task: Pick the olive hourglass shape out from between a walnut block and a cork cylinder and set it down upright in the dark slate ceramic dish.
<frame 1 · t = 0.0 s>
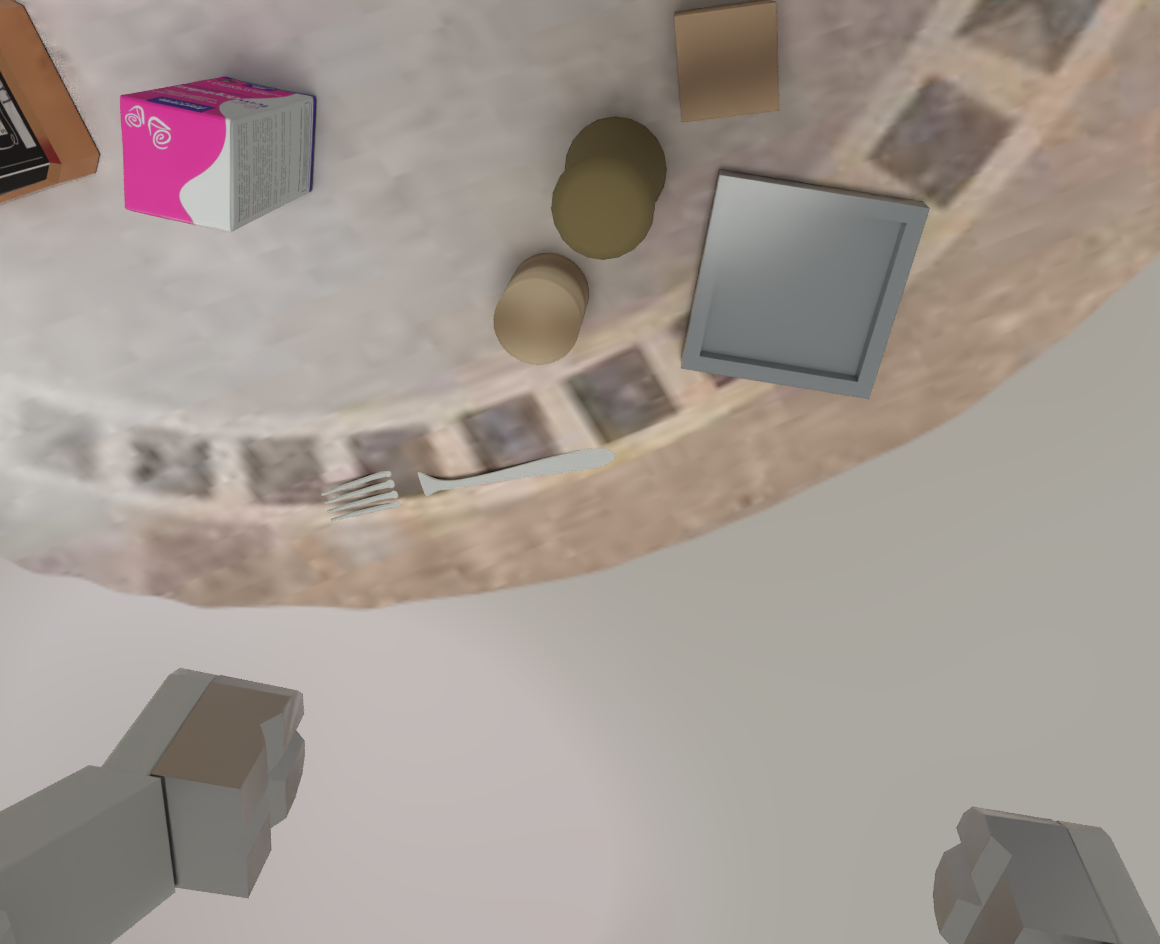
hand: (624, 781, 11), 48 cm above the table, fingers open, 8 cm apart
slate dish: (795, 284, 56), on the table
cork cylinder: (549, 292, 58), on the table
olive hourglass shape: (615, 170, 54), on the table
supplement box: (269, 132, 55), on the table
walnut block: (723, 55, 51), on the table
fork: (489, 470, 66), on the table
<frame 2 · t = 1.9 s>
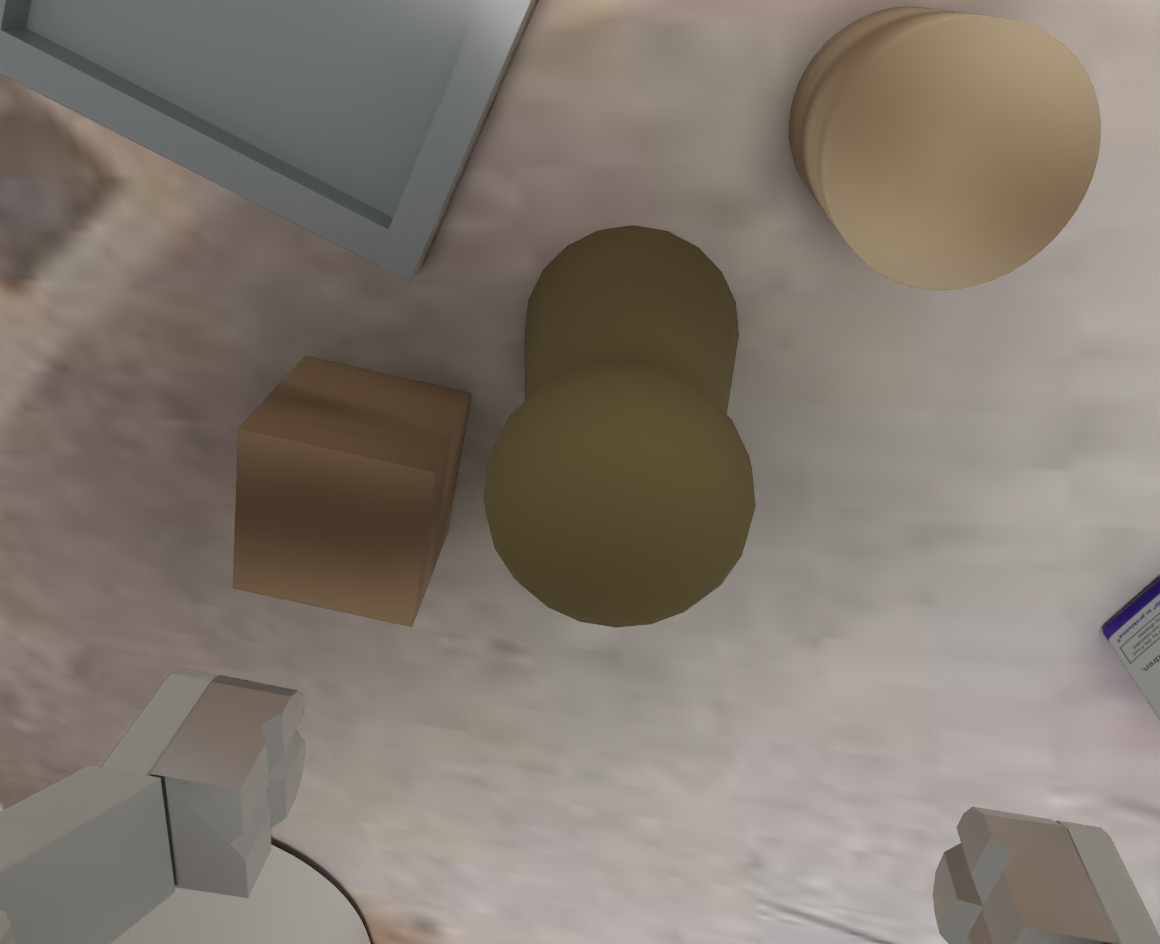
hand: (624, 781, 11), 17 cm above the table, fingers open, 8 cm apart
cork cylinder: (891, 119, 23), on the table
olive hourglass shape: (630, 330, 26), on the table
walnut block: (380, 446, 28), on the table
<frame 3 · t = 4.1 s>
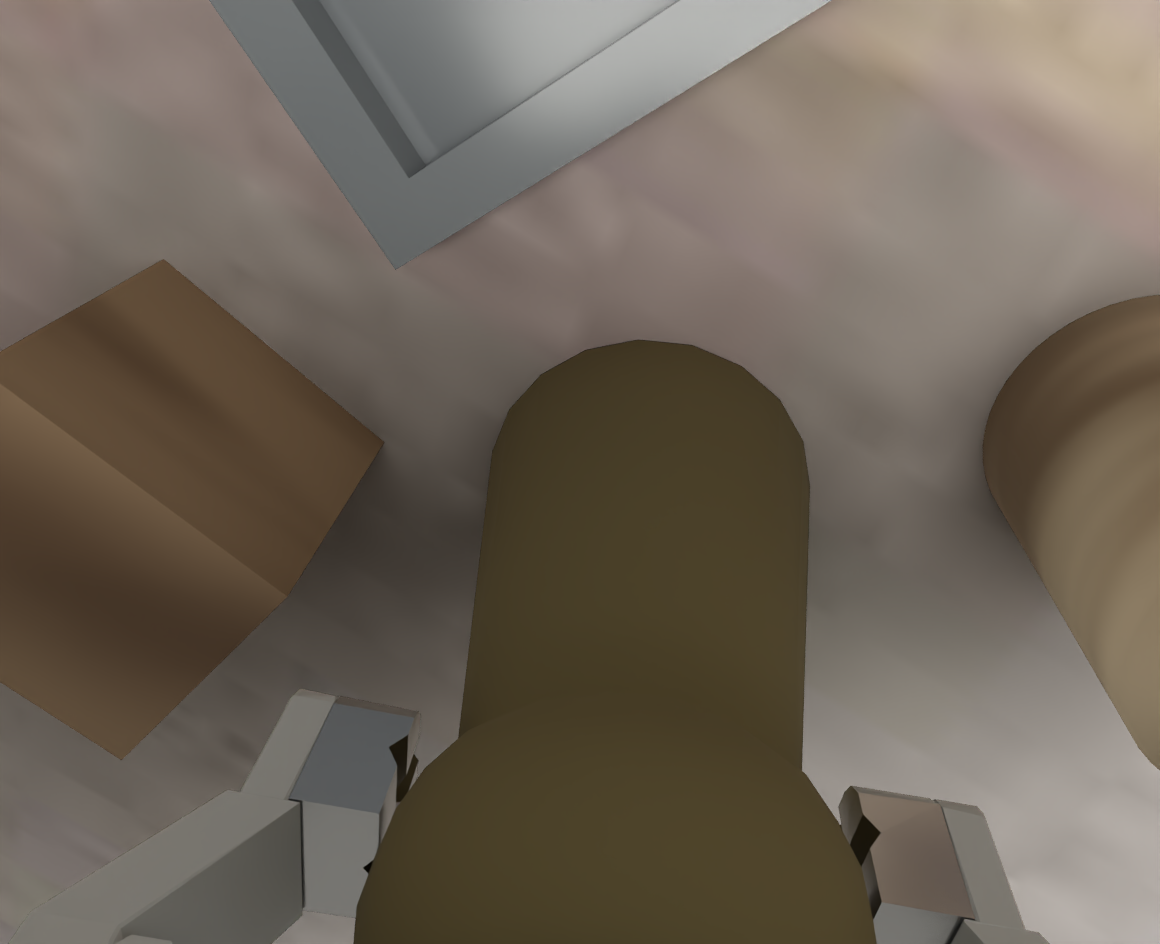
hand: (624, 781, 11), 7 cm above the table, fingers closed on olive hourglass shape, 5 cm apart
cork cylinder: (1134, 433, 16), on the table
olive hourglass shape: (647, 485, 18), on the table, touching gripper
walnut block: (209, 436, 18), on the table
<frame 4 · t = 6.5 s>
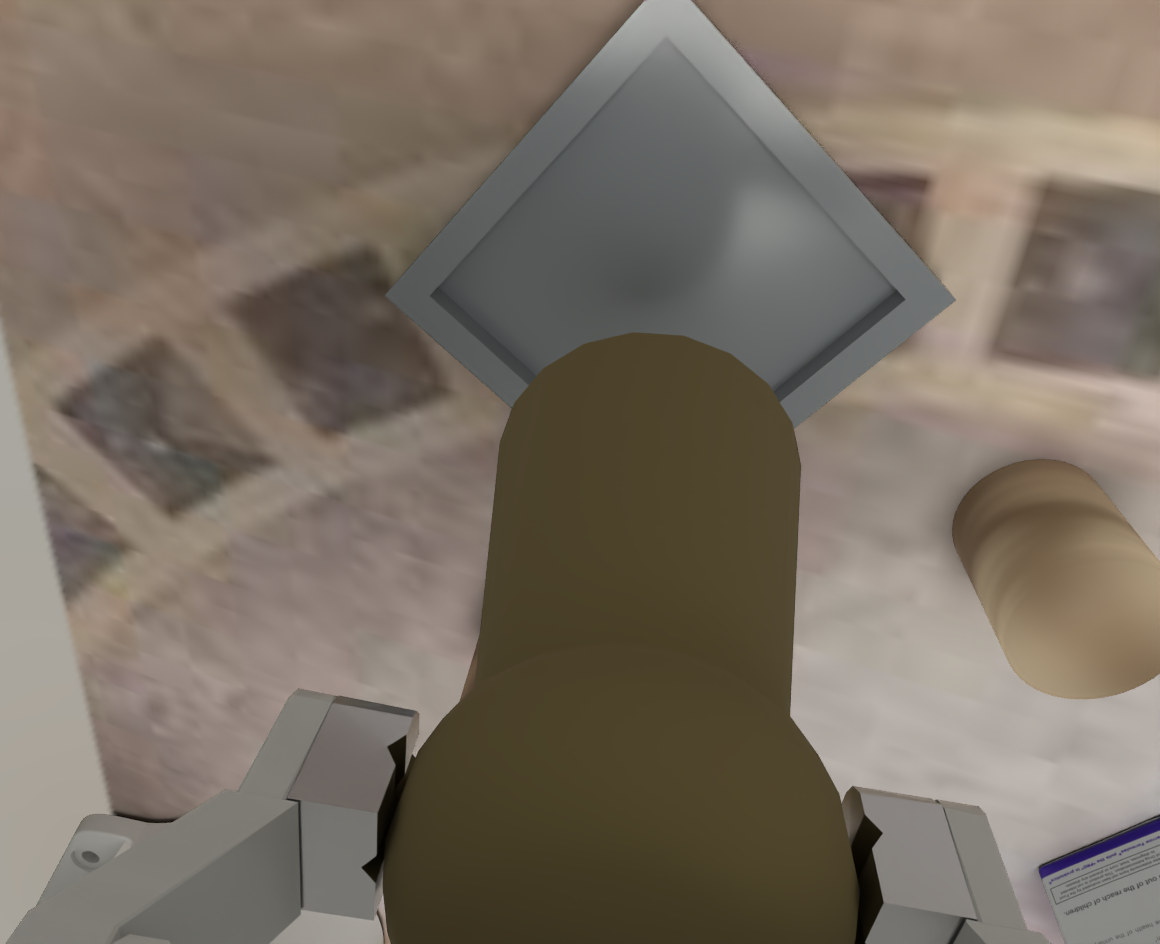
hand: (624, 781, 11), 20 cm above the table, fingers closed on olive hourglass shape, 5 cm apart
slate dish: (662, 281, 29), on the table
cork cylinder: (1028, 523, 32), on the table
olive hourglass shape: (647, 470, 19), point 12 cm above the table, touching gripper
supplement box: (1127, 873, 40), on the table
walnut block: (564, 616, 36), on the table
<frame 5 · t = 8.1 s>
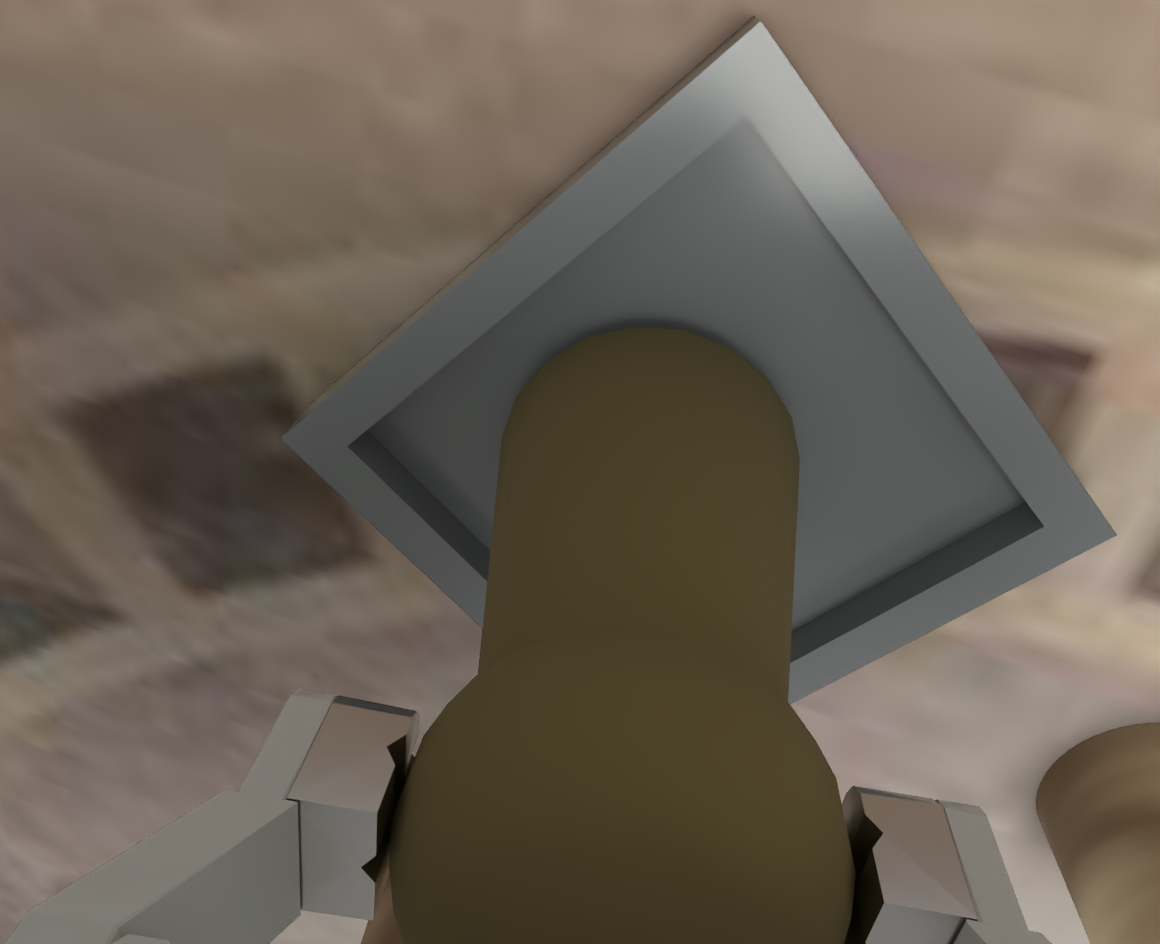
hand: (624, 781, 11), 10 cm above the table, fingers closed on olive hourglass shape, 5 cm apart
slate dish: (688, 449, 20), on the table
cork cylinder: (1139, 795, 24), on the table
olive hourglass shape: (647, 463, 19), point 1 cm above the table, touching gripper
walnut block: (507, 837, 27), on the table
when the fingers open (9 cm above the table, at t = 9.3 s): olive hourglass shape stays where it is, resting on slate dish.
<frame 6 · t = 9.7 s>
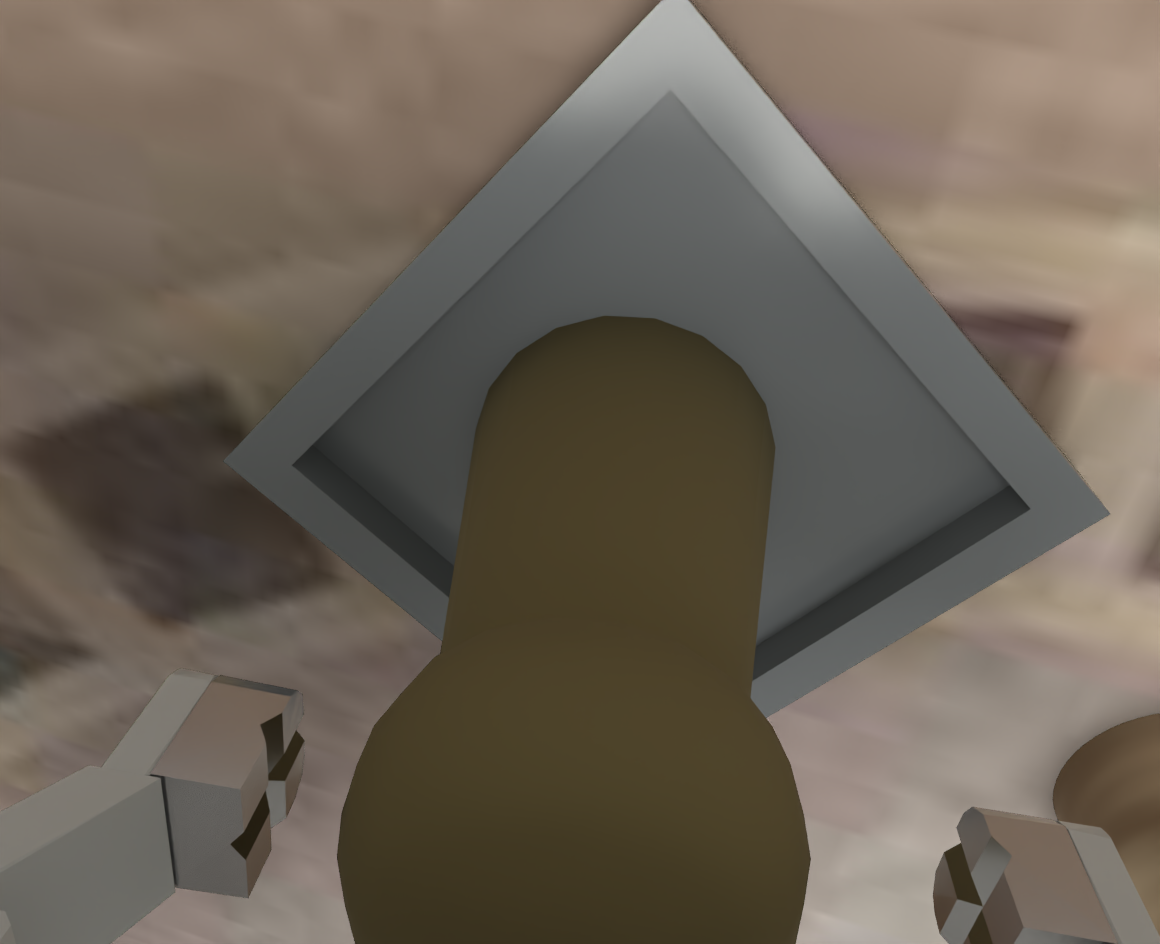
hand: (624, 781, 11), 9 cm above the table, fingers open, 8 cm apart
slate dish: (651, 448, 19), on the table
olive hourglass shape: (623, 453, 19), resting on slate dish
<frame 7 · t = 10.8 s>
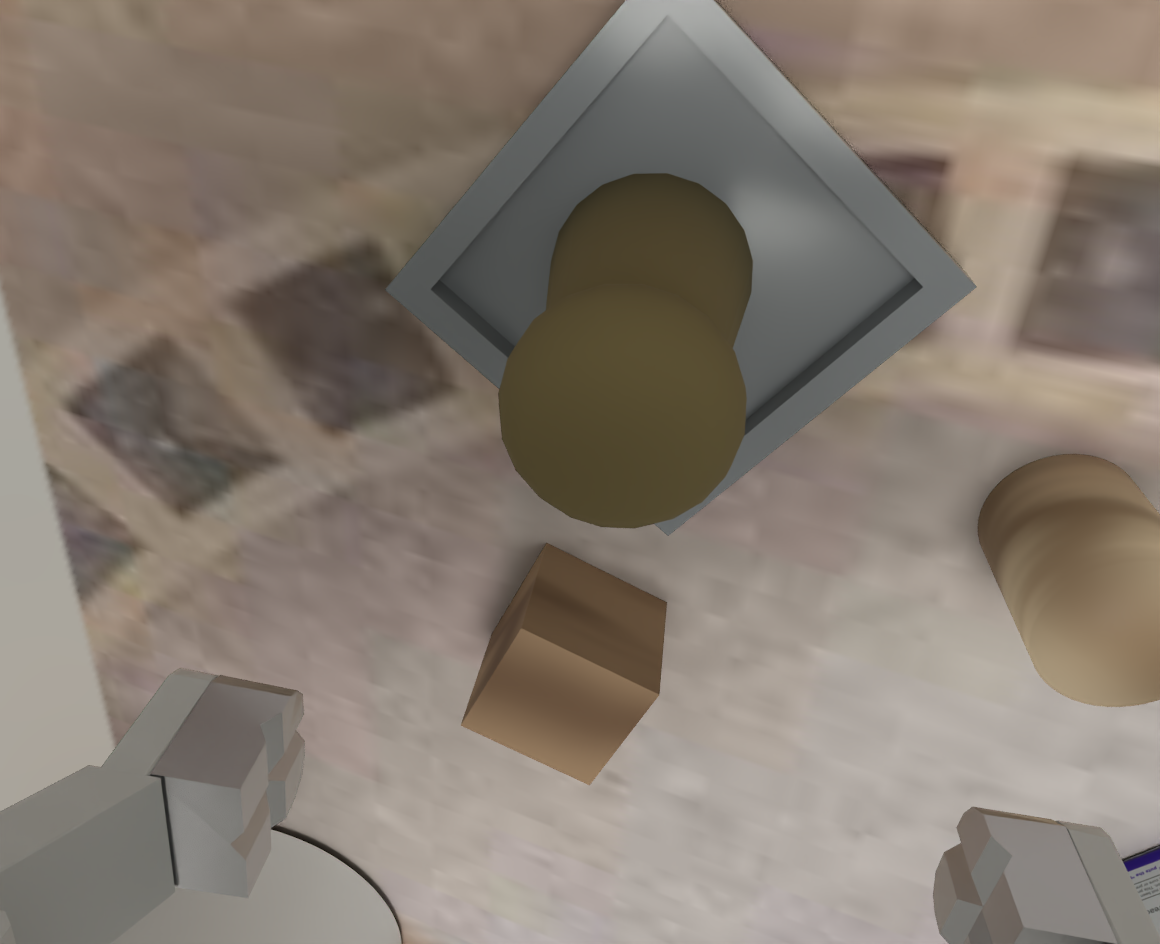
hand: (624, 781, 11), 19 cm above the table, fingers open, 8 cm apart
slate dish: (670, 271, 28), on the table
cork cylinder: (1058, 521, 30), on the table
olive hourglass shape: (650, 274, 28), resting on slate dish
walnut block: (577, 617, 35), on the table
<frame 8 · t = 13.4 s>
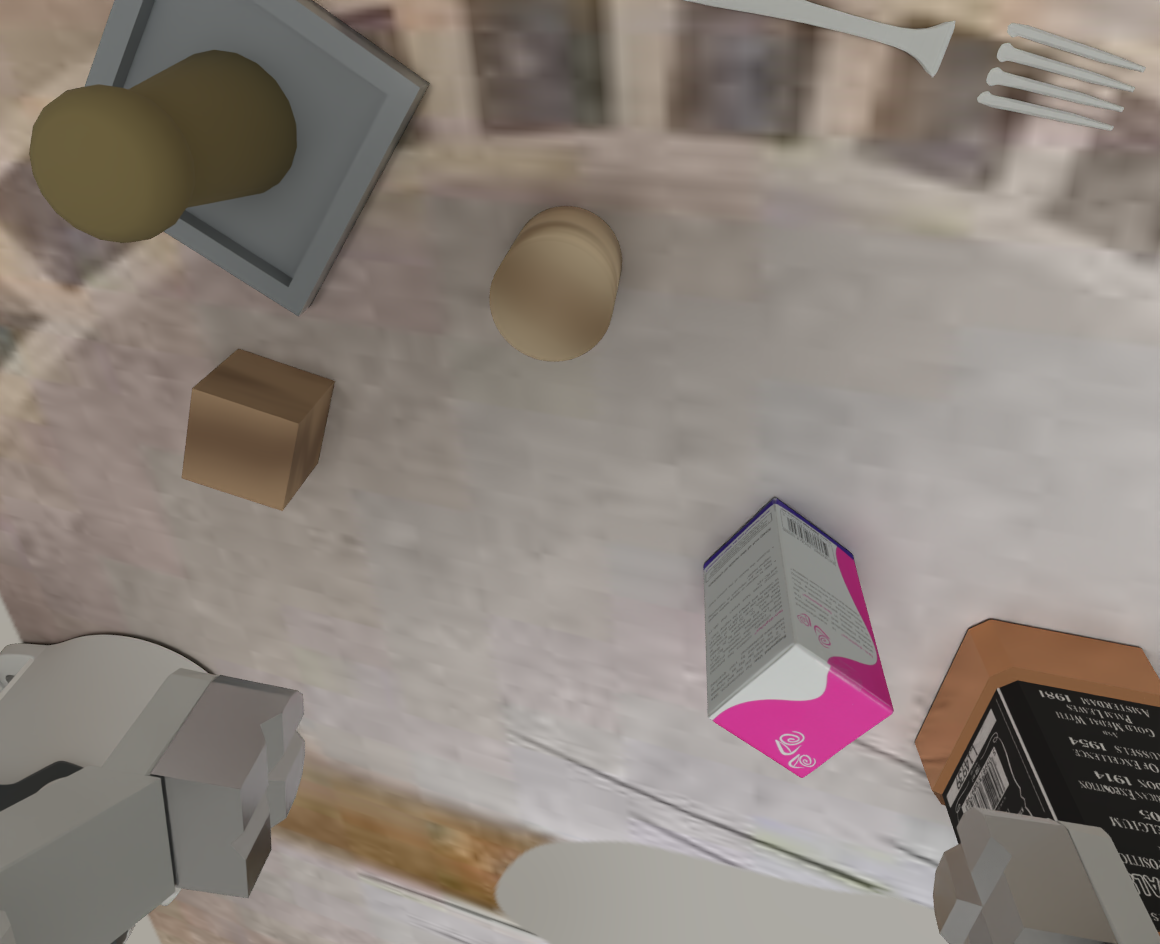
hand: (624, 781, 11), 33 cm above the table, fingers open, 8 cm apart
slate dish: (247, 122, 40), on the table
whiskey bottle: (1025, 700, 52), on the table
cork cylinder: (567, 261, 42), on the table
olive hourglass shape: (231, 125, 40), resting on slate dish
supplement box: (776, 559, 49), on the table
walnut block: (279, 406, 47), on the table
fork: (821, 16, 37), on the table
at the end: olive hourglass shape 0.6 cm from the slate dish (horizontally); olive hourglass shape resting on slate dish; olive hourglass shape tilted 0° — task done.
